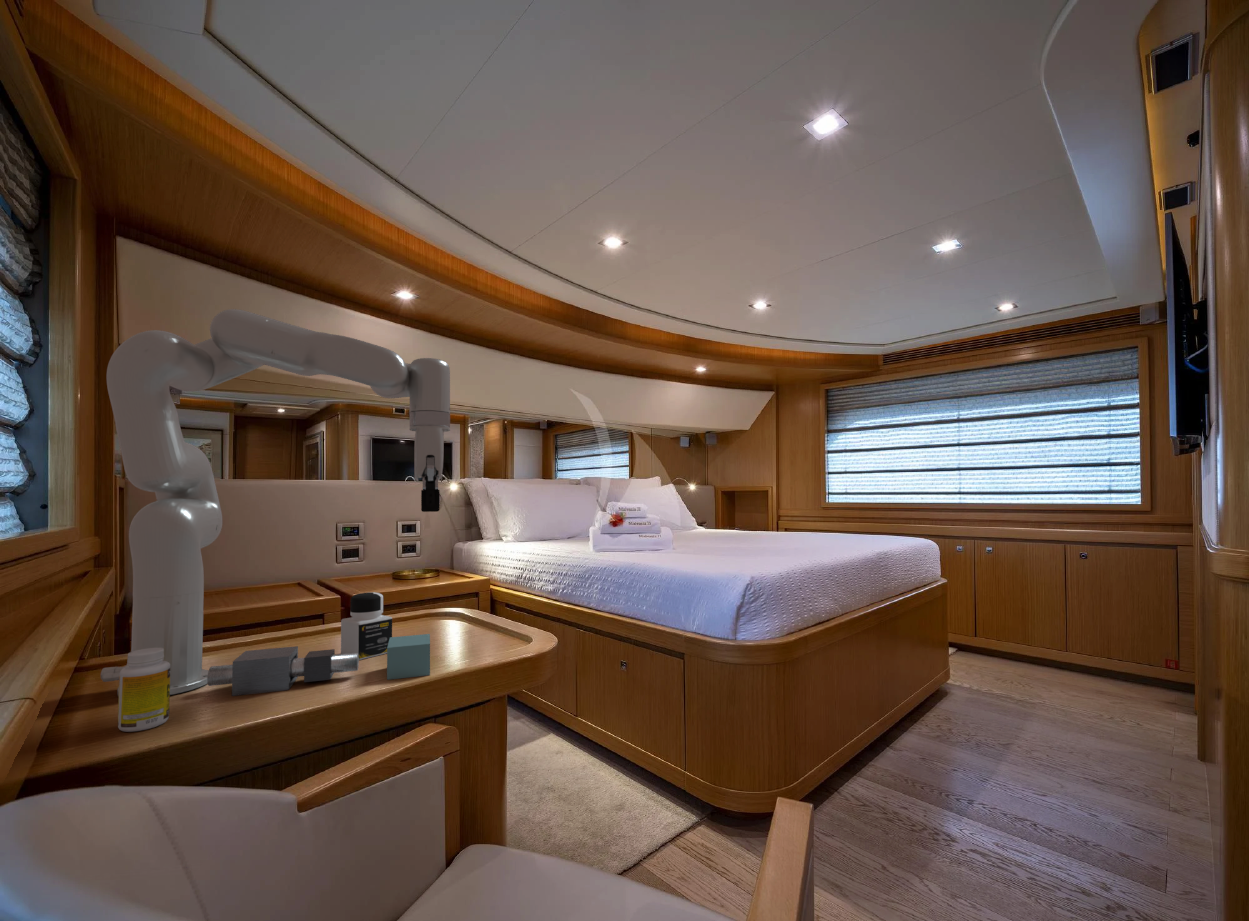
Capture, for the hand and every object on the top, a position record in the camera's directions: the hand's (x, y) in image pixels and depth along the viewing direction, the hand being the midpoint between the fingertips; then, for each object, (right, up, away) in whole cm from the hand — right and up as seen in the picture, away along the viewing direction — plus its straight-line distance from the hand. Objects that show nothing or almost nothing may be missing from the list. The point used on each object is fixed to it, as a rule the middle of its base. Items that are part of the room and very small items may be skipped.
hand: (430, 511), depth 112 cm
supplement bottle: (-30, -28, -31) cm, 51 cm away
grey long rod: (-20, -28, -14) cm, 37 cm away
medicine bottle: (-14, -29, +5) cm, 33 cm away
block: (-1, -28, -8) cm, 29 cm away
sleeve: (-22, -28, -15) cm, 39 cm away
